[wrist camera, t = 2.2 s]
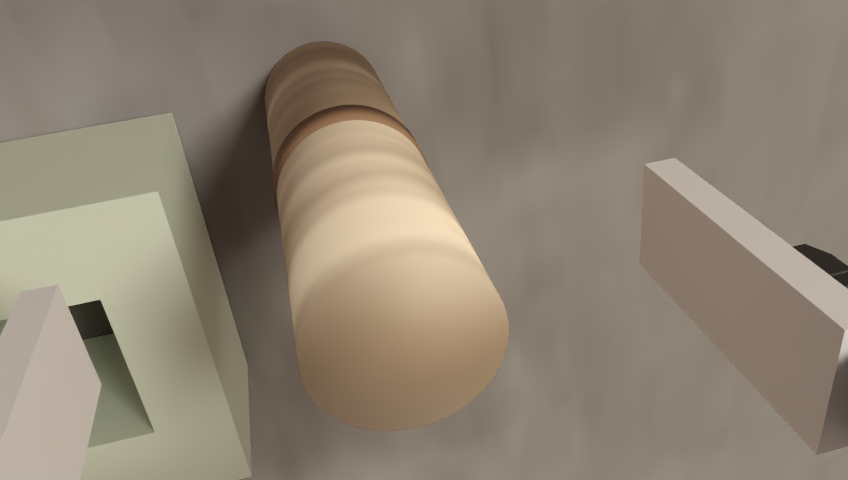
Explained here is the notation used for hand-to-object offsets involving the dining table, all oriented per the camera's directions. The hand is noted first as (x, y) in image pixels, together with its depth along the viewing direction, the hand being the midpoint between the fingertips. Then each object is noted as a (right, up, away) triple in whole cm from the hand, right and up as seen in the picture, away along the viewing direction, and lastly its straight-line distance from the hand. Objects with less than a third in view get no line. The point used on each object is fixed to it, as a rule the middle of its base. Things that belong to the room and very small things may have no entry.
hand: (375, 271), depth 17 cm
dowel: (-2, +6, +9) cm, 11 cm away
